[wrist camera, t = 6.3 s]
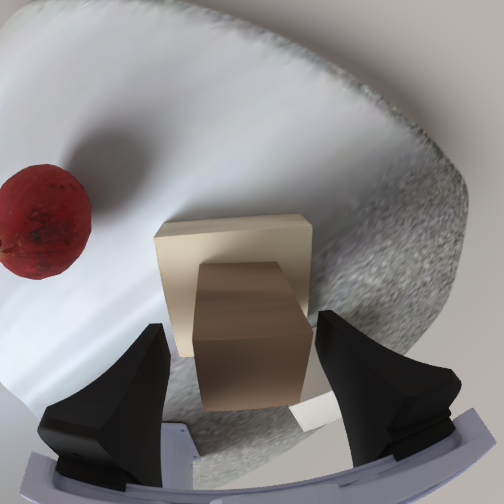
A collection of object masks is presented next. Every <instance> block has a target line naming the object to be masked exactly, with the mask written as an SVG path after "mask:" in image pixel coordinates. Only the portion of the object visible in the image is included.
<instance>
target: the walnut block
mask: <svg viewBox="0 0 504 504" xmlns="http://www.w3.org/2000/svg"><path fill="white" fill-rule="evenodd" d="M313 334H314V332H313V330H312V328H311V326H310V324H309V322H308V320H307V318H306V316H305V314H304V312H303V310H302V308H301V306H300V304H299V302H298V301H297V299H296V297H295V295H294V293H293V291H292V289H291V287H290V285H289V283H288V281H287V279H286V277H285V275H284V273H283V271H282V270H281V268H280V266H279V264H278V262H248V263H217V264H199V271H198V280H197V290H196V300H195V310H194V321H193V333H192V345H193V352H194V358H195V365H196V371H197V377H198V383H199V389H200V395H201V400H202V406H203V411H204V412H209V411H234V410H248V409H260V408H269V407H278V406H286V405H293V404H299V402H300V397H301V393H302V389H303V384H304V380H305V375H306V370H307V365H308V360H309V355H310V350H311V345H312V340H313Z"/></svg>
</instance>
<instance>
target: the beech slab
mask: <svg viewBox="0 0 504 504" xmlns="http://www.w3.org/2000/svg"><path fill="white" fill-rule="evenodd" d="M312 230H313V226H312V225H311V224H310V223H309V222H308V221H307V220H306V219H305V218H304V217H303V216H302V215H301V214H300V213H293V214H274V215H257V216H242V217H228V218H215V219H202V220H190V221H179V222H168V223H163V224H162V226H161V227H160V229H159V230H158V232H157V233H156V235H155V236H154V243H155V249H156V254H157V260H158V265H159V271H160V276H161V281H162V286H163V290H164V295H165V300H166V304H167V308H168V313H169V317H170V321H171V325H172V329H173V333H174V337H175V341H176V345H177V349H178V352H179V356H180V357H193V356H194V352H193V345H192V333H193V321H194V310H195V300H196V290H197V280H198V271H199V264H217V263H248V262H278V264H279V266H280V268H281V270H282V271H283V273H284V275H285V277H286V279H287V281H288V283H289V285H290V287H291V289H292V291H293V293H294V295H295V297H296V299H297V301H298V302H299V304H300V306H301V308H302V310H303V312H304V314H305V316H306V318H307V313H308V301H309V287H310V271H311V253H312Z"/></svg>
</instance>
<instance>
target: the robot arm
mask: <svg viewBox="0 0 504 504" xmlns="http://www.w3.org/2000/svg"><path fill="white" fill-rule="evenodd" d="M314 344H315V348H316V351H317V355H318V358H319V361H320V364H321V366H322V368H323V371H324V373H325V375H326V377H327V379H328V382H329V384H330V386H331V388H332V390H333V393H334V395H335V397H336V400H337V402H338V405H339V408H340V411H341V415H342V418H343V422H344V425H345V429H346V433H347V437H348V441H349V446H350V450H351V455H352V461H353V467H354V468H352V469H349V470H346V471H342V472H339V473H335V474H331V475H327V476H323V477H319V478H314V479H310V480H304V481H299V482H294V483H288V484H281V485H274V486H266V487H257V488H247V489H231V490H193V461H200V460H201V457H200V455H199V453H198V451H197V449H196V446H195V444H194V442H193V440H192V437H191V435H190V433H189V430H188V428H187V426H186V425H185V424H183V423H161V421H162V413H163V407H164V401H165V396H166V391H167V386H168V380H169V375H170V362H171V354H170V351H169V347H168V344H167V340H166V336H165V333H164V329H163V325H162V323H155V324H149V325H148V326H147V327H146V328H145V330H144V331H143V332H142V333H141V334H140V336H139V337H138V338H137V339H136V340H135V342H134V343H133V344H132V345H131V346H130V347H129V349H128V350H127V351H126V352H125V353H124V354H123V355H122V356H121V357H120V358H119V359H118V360H117V361H116V363H115V364H113V365H112V366H111V367H110V368H109V369H108V370H107V371H106V372H105V373H103V374H102V375H101V376H100V377H99V378H97V379H96V380H95V381H93V382H92V383H90V384H89V385H88V386H86V387H85V388H83V389H82V390H80V391H78V392H77V393H75V394H73V395H71V396H70V397H68V398H66V399H64V400H62V401H59V402H57V403H55V404H53V405H50V406H48V407H47V408H46V410H45V412H44V414H43V417H42V419H41V421H40V424H39V426H38V430H37V432H38V434H39V436H40V438H41V439H42V440H43V441H44V442H45V443H46V444H47V445H48V446H49V447H50V448H51V449H52V450H53V451H54V452H55V453H56V454H57V455H58V456H59V458H58V461H56V460H54V459H52V458H50V457H47V456H44V455H42V454H39V453H36V452H34V451H32V452H31V455H30V458H29V461H28V464H27V467H26V470H25V474H24V477H23V481H22V484H21V488H20V492H19V494H20V495H21V496H23V497H24V498H26V499H27V500H29V501H31V502H32V503H34V504H411V503H413V502H415V501H417V500H419V499H421V498H423V497H424V496H426V495H428V494H430V493H431V492H433V491H435V490H436V489H438V488H440V487H441V486H443V485H445V484H446V483H448V482H449V481H451V480H452V479H454V478H455V477H457V476H458V475H460V474H461V473H463V472H464V471H466V470H467V469H469V468H470V467H471V466H472V465H473V464H475V463H476V462H477V461H478V460H479V459H480V458H481V457H482V456H484V455H485V454H486V453H487V452H488V451H489V450H490V449H491V448H492V447H493V446H494V445H495V444H496V441H495V439H494V437H493V436H492V435H491V433H490V431H489V430H488V429H487V427H486V426H485V424H484V422H483V421H482V420H481V418H480V417H479V415H478V414H477V412H476V411H475V410H474V408H471V409H470V410H468V411H466V412H465V413H463V414H461V415H460V416H458V417H456V418H455V419H454V420H453V421H451V419H450V418H449V417H450V416H451V411H450V410H449V407H450V405H451V404H452V402H453V401H454V399H455V398H456V397H457V395H458V393H459V391H460V389H461V386H462V384H461V381H460V380H459V378H458V377H457V376H456V374H455V373H454V372H453V371H452V370H451V369H448V368H442V367H437V366H432V365H429V364H425V363H421V362H418V361H415V360H413V359H410V358H407V357H405V356H402V355H400V354H398V353H396V352H394V351H392V350H390V349H388V348H386V347H384V346H382V345H380V344H379V343H377V342H375V341H374V340H372V339H371V338H369V337H367V336H366V335H364V334H363V333H362V332H360V331H359V330H357V329H356V328H355V327H353V326H352V325H351V324H349V323H348V322H347V321H345V320H344V319H343V318H341V317H340V316H339V315H337V314H336V313H335V312H333V311H332V310H325V311H319V313H318V321H317V329H316V336H315V343H314Z"/></svg>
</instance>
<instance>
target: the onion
mask: <svg viewBox="0 0 504 504" xmlns="http://www.w3.org/2000/svg"><path fill="white" fill-rule="evenodd" d="M90 233H91V204H90V202H89V199H88V197H87V195H86V192H85V190H84V187H83V186H82V185H81V184H80V183H79V182H78V181H77V180H76V179H75V177H74V176H73V175H72V174H71V173H70V172H68V171H66V170H64V169H61V168H59V167H57V166H55V165H50V164H42V165H34V166H29V167H27V168H25V169H22V170H21V171H19V172H18V173H16V174H15V175H13V176H12V177H11V178H9V179H8V180H7V181H6V182H5V183H4V184H3V185H2V187H1V189H0V262H2V264H3V265H4V266H5V267H6V268H7V269H9V270H10V271H11V272H13V273H14V274H16V275H18V276H21V277H24V278H29V279H33V280H41V279H44V278H47V277H51V276H54V275H58V274H61V273H62V272H64V271H65V270H67V269H68V268H69V267H70V266H71V265H72V264H73V263H74V262H75V260H76V259H77V258H78V257H79V256H80V255H81V253H82V252H83V250H84V248H85V246H86V243H87V240H88V238H89V235H90Z"/></svg>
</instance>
